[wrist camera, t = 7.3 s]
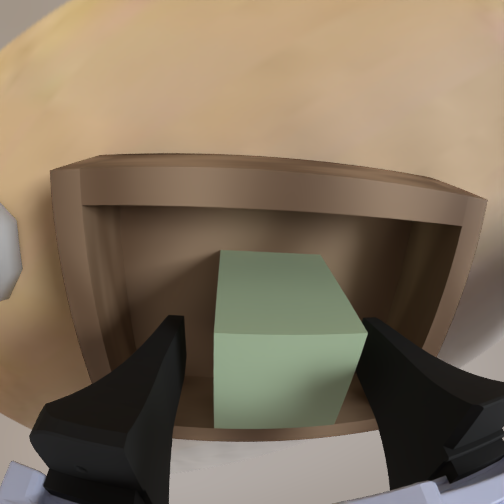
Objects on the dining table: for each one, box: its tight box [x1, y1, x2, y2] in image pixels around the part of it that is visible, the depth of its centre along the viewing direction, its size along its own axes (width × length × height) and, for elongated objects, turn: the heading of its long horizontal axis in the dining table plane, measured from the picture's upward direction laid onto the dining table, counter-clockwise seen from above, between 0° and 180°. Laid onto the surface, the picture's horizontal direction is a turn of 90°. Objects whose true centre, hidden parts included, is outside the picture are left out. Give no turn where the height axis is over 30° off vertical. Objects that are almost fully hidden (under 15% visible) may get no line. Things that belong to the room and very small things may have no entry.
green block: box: [214, 250, 368, 429], centre depth 12 cm, size 4×4×6 cm
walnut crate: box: [50, 153, 488, 442], centre depth 14 cm, size 16×13×4 cm
